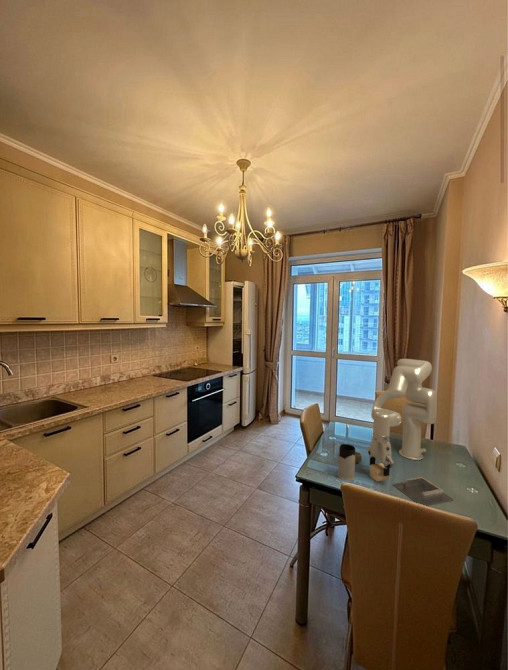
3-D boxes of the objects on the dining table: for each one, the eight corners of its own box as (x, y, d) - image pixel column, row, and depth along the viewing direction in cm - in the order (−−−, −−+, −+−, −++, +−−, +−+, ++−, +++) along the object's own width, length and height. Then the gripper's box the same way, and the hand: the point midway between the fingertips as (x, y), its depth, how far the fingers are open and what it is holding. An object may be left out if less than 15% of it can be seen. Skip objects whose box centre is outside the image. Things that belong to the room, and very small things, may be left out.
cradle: (422, 480, 135) (422, 473, 135) (453, 500, 120) (453, 492, 120) (392, 485, 130) (393, 477, 130) (421, 506, 115) (422, 498, 115)
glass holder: (345, 482, 131) (347, 452, 131) (326, 467, 144) (328, 440, 144) (359, 478, 135) (360, 449, 134) (339, 465, 148) (340, 438, 147)
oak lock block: (381, 474, 140) (381, 463, 140) (388, 479, 135) (388, 468, 135) (369, 476, 138) (370, 464, 138) (376, 481, 133) (377, 469, 133)
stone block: (356, 465, 149) (357, 456, 149) (338, 457, 158) (338, 448, 158) (362, 462, 152) (362, 453, 152) (344, 454, 161) (344, 446, 161)
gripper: (400, 443, 128) (398, 479, 129) (374, 430, 145) (373, 461, 145) (387, 445, 126) (385, 480, 127) (363, 431, 143) (361, 462, 143)
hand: (379, 470), depth 136 cm, fingers open, 9 cm apart
